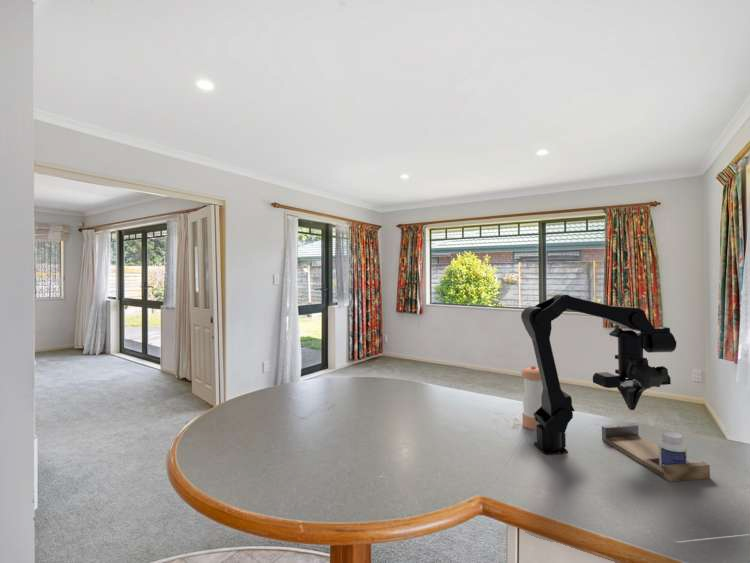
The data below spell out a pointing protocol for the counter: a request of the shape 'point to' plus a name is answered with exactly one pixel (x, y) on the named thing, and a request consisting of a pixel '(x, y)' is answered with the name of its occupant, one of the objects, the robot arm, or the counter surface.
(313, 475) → the counter surface
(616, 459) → the counter surface
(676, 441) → the pill bottle
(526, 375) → the pepper shaker
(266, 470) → the counter surface
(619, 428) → the brown long shallow piece
